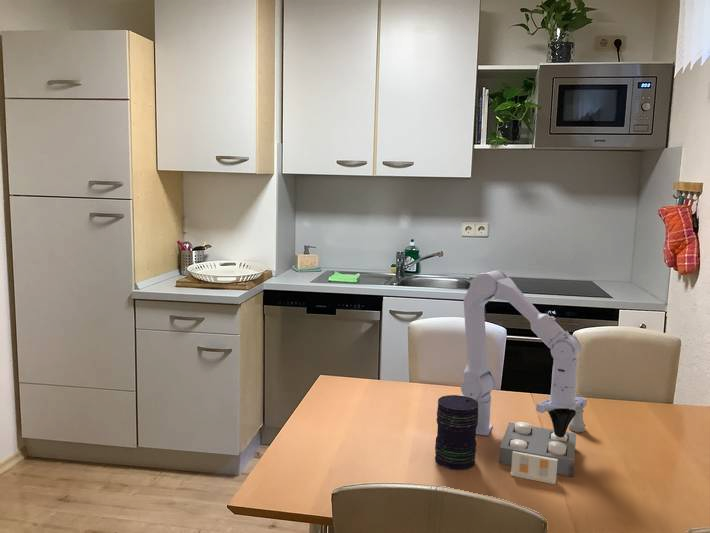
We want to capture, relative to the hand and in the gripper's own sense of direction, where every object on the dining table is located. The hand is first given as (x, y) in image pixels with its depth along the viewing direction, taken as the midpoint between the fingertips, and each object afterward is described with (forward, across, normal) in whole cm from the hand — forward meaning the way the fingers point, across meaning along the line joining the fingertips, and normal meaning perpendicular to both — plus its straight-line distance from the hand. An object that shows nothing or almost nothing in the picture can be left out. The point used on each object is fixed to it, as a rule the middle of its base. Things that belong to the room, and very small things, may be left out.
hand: (559, 435), depth 155 cm
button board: (+4, -6, 0) cm, 8 cm away
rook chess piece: (+4, +15, +10) cm, 19 cm away
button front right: (+2, -6, -6) cm, 9 cm away
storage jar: (+4, -28, +5) cm, 29 cm away
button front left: (+3, -13, 0) cm, 13 cm away
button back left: (+2, -6, +6) cm, 9 cm away
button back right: (+3, 0, 0) cm, 3 cm away
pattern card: (+4, -15, -9) cm, 18 cm away
